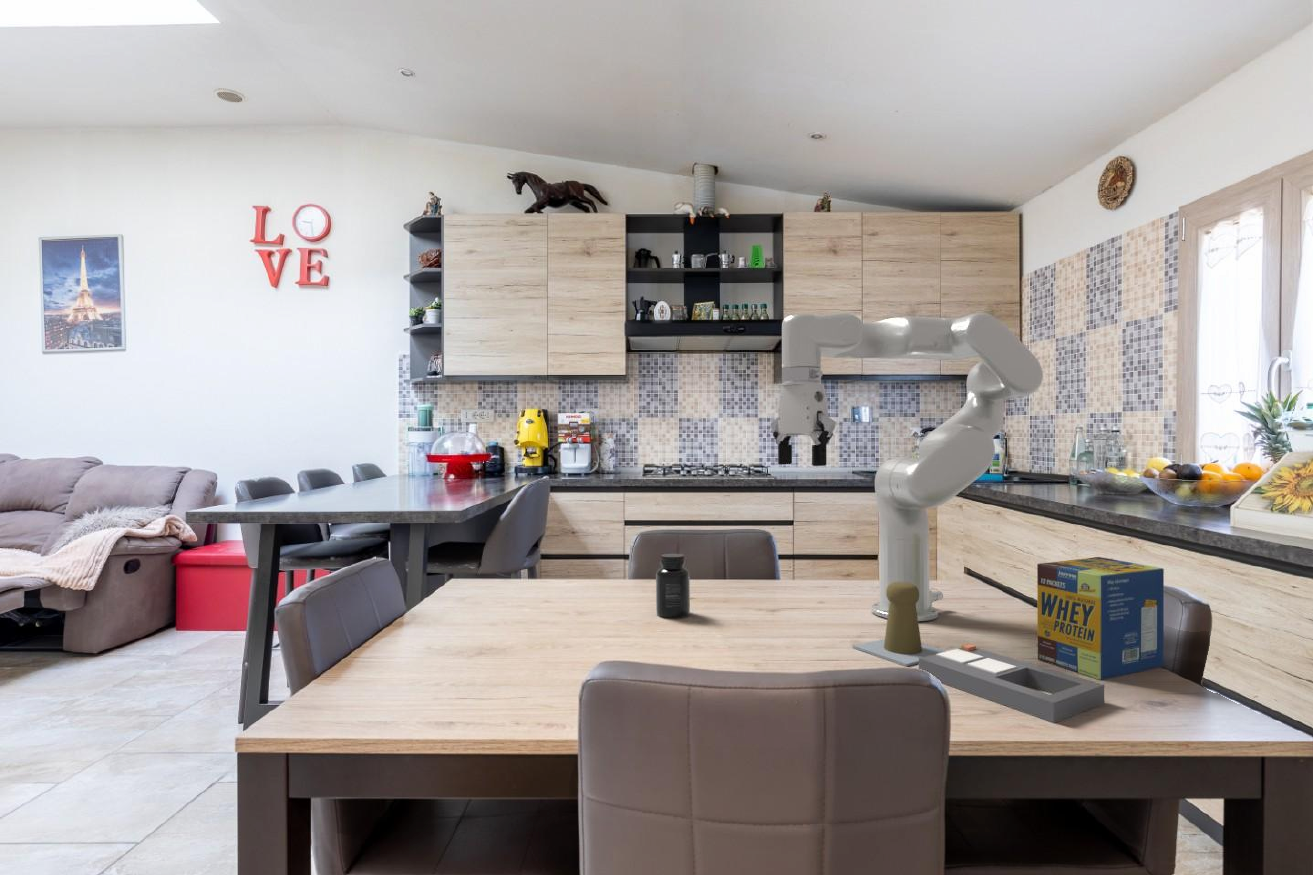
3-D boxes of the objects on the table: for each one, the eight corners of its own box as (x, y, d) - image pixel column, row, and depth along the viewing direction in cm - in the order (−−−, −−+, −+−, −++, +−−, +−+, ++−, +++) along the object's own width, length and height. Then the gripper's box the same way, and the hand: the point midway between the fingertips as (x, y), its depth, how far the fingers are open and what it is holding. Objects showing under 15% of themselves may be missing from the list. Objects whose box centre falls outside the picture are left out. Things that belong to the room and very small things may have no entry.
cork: (878, 643, 116) (877, 579, 116) (912, 642, 117) (912, 578, 117) (892, 654, 110) (892, 587, 110) (928, 654, 110) (928, 586, 111)
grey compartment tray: (969, 661, 108) (969, 642, 108) (1104, 703, 91) (1104, 680, 91) (918, 674, 102) (918, 654, 102) (1053, 722, 85) (1053, 698, 85)
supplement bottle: (696, 613, 139) (695, 554, 139) (679, 620, 133) (678, 559, 133) (667, 608, 142) (667, 551, 142) (649, 615, 137) (649, 556, 137)
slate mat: (897, 638, 121) (897, 635, 121) (951, 654, 111) (951, 652, 111) (853, 647, 115) (853, 645, 115) (906, 666, 106) (906, 663, 106)
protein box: (1035, 659, 109) (1035, 563, 109) (1099, 647, 115) (1098, 556, 115) (1100, 681, 99) (1100, 575, 99) (1166, 666, 105) (1165, 566, 105)
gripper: (847, 375, 128) (848, 466, 128) (786, 382, 143) (786, 463, 143) (818, 373, 125) (818, 467, 125) (758, 380, 140) (758, 464, 139)
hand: (801, 464), depth 134 cm, fingers open, 9 cm apart
